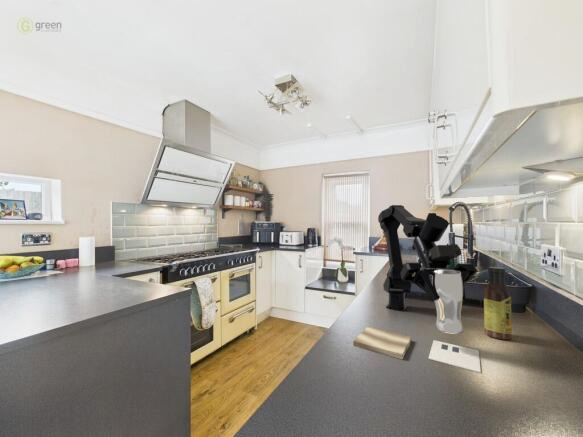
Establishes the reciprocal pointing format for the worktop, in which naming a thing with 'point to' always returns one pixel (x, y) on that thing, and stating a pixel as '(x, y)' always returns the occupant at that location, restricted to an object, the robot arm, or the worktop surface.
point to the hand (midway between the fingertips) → (450, 300)
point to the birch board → (383, 342)
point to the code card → (455, 356)
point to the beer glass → (448, 300)
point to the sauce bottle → (497, 305)
